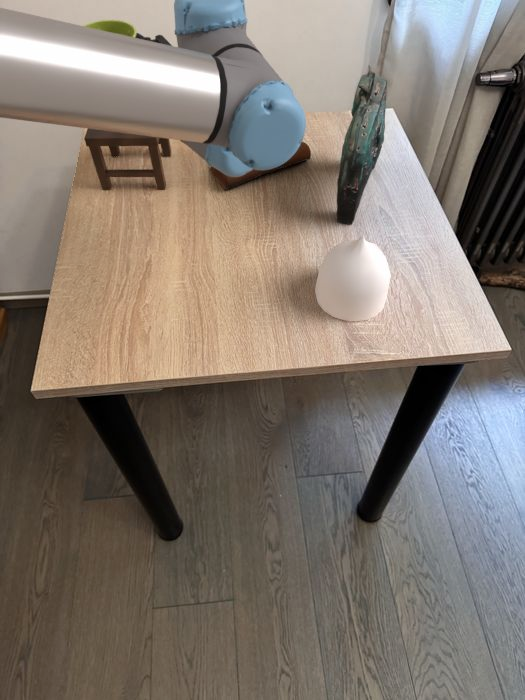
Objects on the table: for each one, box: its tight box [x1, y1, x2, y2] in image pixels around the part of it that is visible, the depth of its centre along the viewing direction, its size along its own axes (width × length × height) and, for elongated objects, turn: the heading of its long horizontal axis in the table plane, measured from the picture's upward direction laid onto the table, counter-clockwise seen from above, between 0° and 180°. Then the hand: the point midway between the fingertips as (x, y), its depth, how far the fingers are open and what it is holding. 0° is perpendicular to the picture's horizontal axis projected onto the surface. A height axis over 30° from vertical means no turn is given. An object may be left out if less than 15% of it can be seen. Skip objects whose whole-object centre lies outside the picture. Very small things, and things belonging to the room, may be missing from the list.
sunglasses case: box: [210, 141, 312, 191], centre depth 95 cm, size 18×7×7 cm
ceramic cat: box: [335, 65, 388, 225], centre depth 84 cm, size 20×6×20 cm, turn 164°
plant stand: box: [83, 128, 172, 191], centre depth 92 cm, size 12×12×10 cm
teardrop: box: [314, 234, 392, 323], centre depth 73 cm, size 11×11×12 cm
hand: (93, 41), depth 79 cm, fingers closed on plant pot, 8 cm apart
